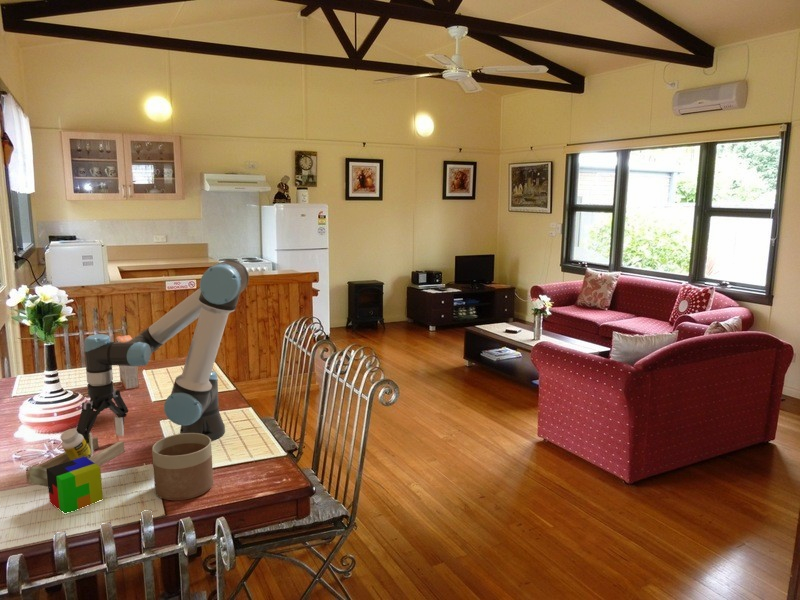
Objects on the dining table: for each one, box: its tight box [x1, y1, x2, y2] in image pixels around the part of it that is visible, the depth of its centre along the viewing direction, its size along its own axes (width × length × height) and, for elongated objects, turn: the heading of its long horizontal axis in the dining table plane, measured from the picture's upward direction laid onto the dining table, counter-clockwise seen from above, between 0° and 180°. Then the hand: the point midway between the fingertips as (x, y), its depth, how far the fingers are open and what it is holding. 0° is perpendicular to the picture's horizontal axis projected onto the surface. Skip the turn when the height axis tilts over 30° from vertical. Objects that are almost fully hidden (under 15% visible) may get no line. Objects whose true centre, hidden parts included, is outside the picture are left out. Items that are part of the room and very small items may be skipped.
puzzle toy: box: [46, 457, 104, 513], centre depth 163 cm, size 10×10×10 cm
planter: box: [151, 433, 214, 501], centre depth 170 cm, size 16×16×14 cm
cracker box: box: [116, 334, 140, 391], centre depth 260 cm, size 14×6×21 cm, turn 33°
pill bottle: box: [59, 428, 94, 461], centre depth 184 cm, size 6×6×11 cm
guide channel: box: [25, 436, 125, 488], centre depth 184 cm, size 12×26×5 cm, turn 164°
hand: (105, 443), depth 196 cm, fingers open, 13 cm apart
